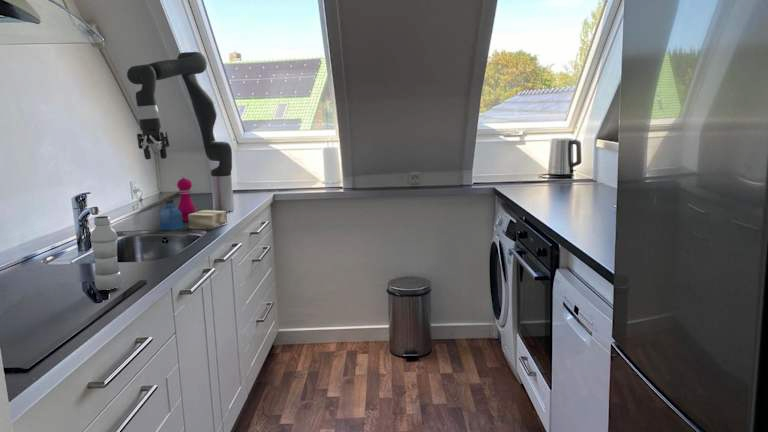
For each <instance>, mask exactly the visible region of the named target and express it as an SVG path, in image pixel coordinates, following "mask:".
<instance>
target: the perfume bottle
mask: <svg viewBox="0 0 768 432" xmlns="http://www.w3.org/2000/svg"><path fill="white" fill-rule="evenodd" d="M164 201H165V203H164V204H165V205H164V206H165V207H162V209H161V211H160V213H158V218H159V228H160V230H162V231H171V232H172V231H173V232H174V231H175V230H180V229H183V228H184V222H183V220H182V213H181V211H180V210H179V209H178V206H176V207H175V202H174V199H170V198H169V199H165V200H164Z"/></svg>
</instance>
